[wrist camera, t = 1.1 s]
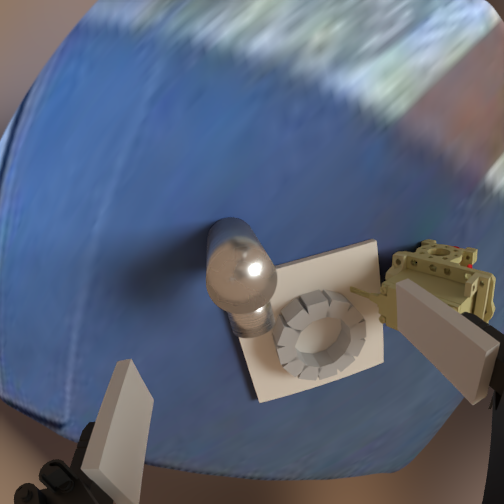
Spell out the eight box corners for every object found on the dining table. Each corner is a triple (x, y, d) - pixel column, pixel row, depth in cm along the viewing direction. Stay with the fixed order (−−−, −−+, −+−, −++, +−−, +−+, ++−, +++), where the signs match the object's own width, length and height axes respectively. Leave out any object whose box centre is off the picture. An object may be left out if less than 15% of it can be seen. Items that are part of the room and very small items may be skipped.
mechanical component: (411, 273, 46) (524, 305, 29) (337, 316, 38) (481, 380, 21) (412, 225, 44) (534, 249, 27) (334, 257, 36) (500, 305, 19)
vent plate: (222, 280, 35) (223, 294, 31) (372, 238, 36) (389, 247, 32) (258, 398, 40) (263, 418, 36) (380, 358, 41) (393, 374, 37)
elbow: (201, 224, 33) (197, 257, 21) (248, 211, 33) (269, 238, 22) (220, 290, 35) (226, 349, 24) (264, 278, 35) (289, 332, 24)
